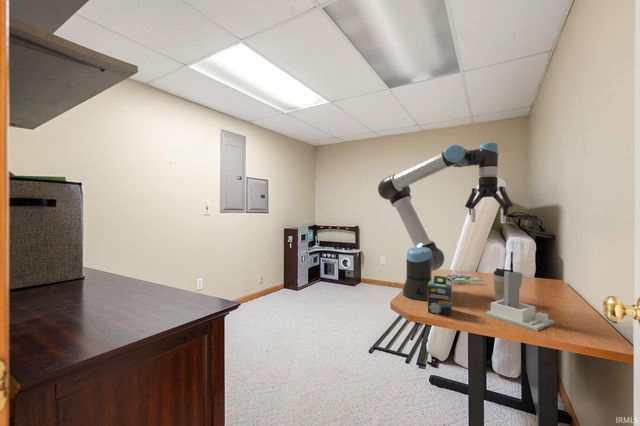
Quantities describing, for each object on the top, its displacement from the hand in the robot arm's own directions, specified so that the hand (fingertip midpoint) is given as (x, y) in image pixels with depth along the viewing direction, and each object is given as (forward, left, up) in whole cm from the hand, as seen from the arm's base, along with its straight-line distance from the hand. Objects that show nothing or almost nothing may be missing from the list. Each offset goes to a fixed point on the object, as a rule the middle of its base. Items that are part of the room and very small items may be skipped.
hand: (487, 222), depth 132 cm
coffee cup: (+4, +8, -37) cm, 38 cm away
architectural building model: (+18, -11, -37) cm, 42 cm away
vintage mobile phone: (+16, -11, -36) cm, 41 cm away
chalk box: (-3, -30, -37) cm, 48 cm away
